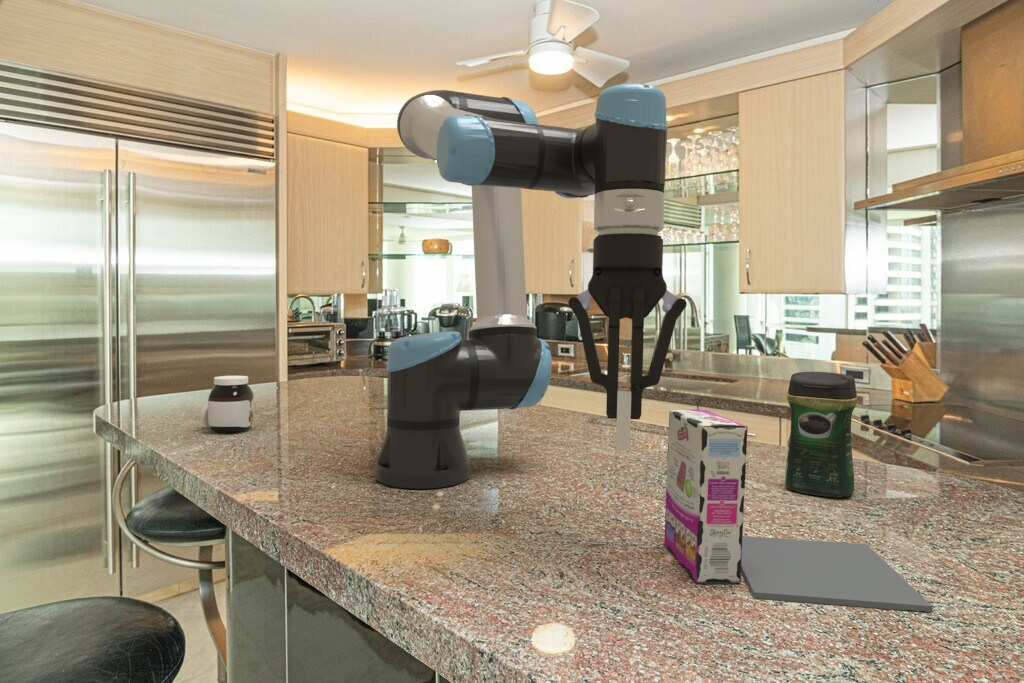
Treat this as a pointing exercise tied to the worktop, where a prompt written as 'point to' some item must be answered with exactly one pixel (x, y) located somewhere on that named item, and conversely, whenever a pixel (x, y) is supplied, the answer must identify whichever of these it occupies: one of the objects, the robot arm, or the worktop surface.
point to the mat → (825, 574)
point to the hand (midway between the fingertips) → (622, 447)
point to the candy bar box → (706, 494)
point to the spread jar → (229, 406)
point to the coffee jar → (821, 434)
